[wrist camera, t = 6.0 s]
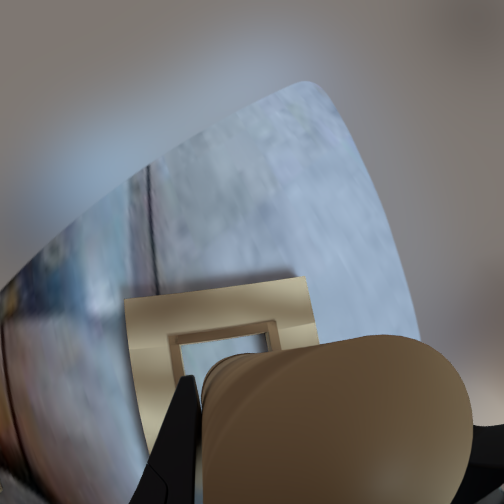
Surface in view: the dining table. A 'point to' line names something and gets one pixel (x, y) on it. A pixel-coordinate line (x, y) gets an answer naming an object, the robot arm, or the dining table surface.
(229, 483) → the peg
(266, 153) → the dining table surface
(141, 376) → the socket board
